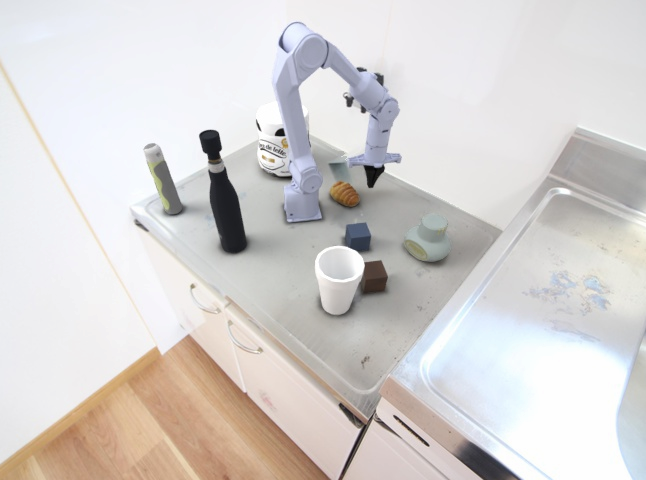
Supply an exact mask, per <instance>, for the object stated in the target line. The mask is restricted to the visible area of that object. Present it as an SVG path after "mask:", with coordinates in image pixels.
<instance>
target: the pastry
mask: <svg viewBox="0 0 646 480" xmlns="http://www.w3.org/2000/svg"><path fill="white" fill-rule="evenodd" d="M329 194H330V196H331V198H332V199H333V200H334V201H335V202H337V203H339V204H341V205H342V206H345V207H349V208H353V207H355V206H357V205H358V204H359V202H360V197H359V194H358V192H357V191H356V189H355V187H353V185H351V183H349V182H345V181H344V180H338V181H336V182H335V183H333V184H332V185H331V187H330V189H329Z"/></svg>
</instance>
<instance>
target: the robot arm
mask: <svg viewBox="0 0 646 480" xmlns="http://www.w3.org/2000/svg"><path fill="white" fill-rule="evenodd" d="M319 68H321V69H322V70H326V69H329V68H330V69H331V70H332V71H334V73H335V74H336V75H338V76H339V77H340V78H341V79H342V80H343V81H345V83H347V84H348V85H349V89H348V90H349V94H350V96H351V97H352V98H353V99H354V100H356V101H357V102H358V103H359V104H360V105H361V106H362V107H363V108H364V109H365V110H366V112H368V113H369V115H368V124H367V130H366V131H367V132H366V137H365V146H364V153H361V154H358V155H354V156H351V157H347V158H346V165H347V168H348V169H351V168H353V167H360V166H363V169H364V172H365V177H366V185H367V188H368V189H373V188H374V187H375V185H376V184H377V183H376V182H377V181H378V179H379V178H380V176H382V174H383V173H384V172H385V170H386V166H385V165H386V164H392V163H396V164H401V163H402V159H403V157H402V155H401V153H399V152H398V153H397V152H395V153H394V152H388V148H389V147H388V146H389V141H390V136H391V131H392V127H394V122H395V120H396V119H397V118H398V116H399V114H400V112H401V109H400V107H399V102H398V100H397V99H396V98H395V97H394V96H392V95H391V94H389V88H388V87H386V86H382V85H381V84H380V82H379V81H378V76H377V75H376V73H374V72H372V71H371V72H369V71H366V70H365V71H359V70H358V69H357V67H355V65H354V64H353V63H352V62H351V61H350V59H348V57H346V55H345V54H344V53H343V52H342V51H341V50H340V48H338V47H337V46H336V45H335V44H333V43H332V42H331V41H328V39H326V38H324V36H323V35H321V34H320V33H318V32H315V31H314V30H312V29H310V28H309V27H308V26H307V25H306V24H305V23H304V22H302V21H300V20H299V21H298V20H295V21H294V20H293V21H291V22H290V23H288V24H287V25H285V27H284V28H283V30H282V31H281V33H280V35H279V36H278V37H277V39H276V55H275V59H274V64H273V69H272V73H271V84H272V88H273V93H274V96H275V99H276V101H275V102H277V105H278V108H279V112H280V116H281V120H282V124H283V128H284V132H285V136H286V140H287V143H288V147H289V151H290V153H289V154H288V157H289V163H288V171H289V172H290V174H291V175H292V176H291V177H292V178H291V182H290V183H289V184H286V185H283V199H284V204H283V208H284V209H283V210H284V212H285V215H286V221H287V223H298V222H306V221H307V222H308V221H316V220H321V219H322V218H323V217H322V213H321V210H320V206H319V202H320V201H319V200H320V199H319V195H320V193H319V192H320V188H321V187H322V185H323V183H324V177H323V174H322V173H321V172H320V171H319V170H318V165H317V163H316V161H315V158H314V156H313V153H312V154H311V149H310V144H311V143H310V144H309V141H310V138H309V139H308V134H307V129H306V124H305V119H304V114H303V109H302V105H303V104H302V100H301V95H300V94H301V93H300V90H299V88H300V87H301V85H302V83H304V82H305V81H306V80H307V79H308V78H309V77H310V76H312V75H313V74H314V73H315V72H316V71H317V70H319Z"/></svg>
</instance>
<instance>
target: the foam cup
mask: <svg viewBox="0 0 646 480" xmlns="http://www.w3.org/2000/svg"><path fill="white" fill-rule="evenodd" d="M364 262H365V261H364V258H363V257H362V255H361V254H360V253H359V251H358V252H357V251H355V250H353V249H350V248H348V246H342V245H334V246H329V247H325V248H324V249H323V250H322V251H319V252H318V254H317V256H316V258H315V261H314V271H315V279H316V280H317V285H318V289H319V290H318V291H319V296H320V301H321V306H322V308H323V309H324V311H325V312H327V313H328V314H331V315H333V316H334V315H335V316H339V315H342V314H345V313H347V312H348V311H349V309H350V308H351V305H352V302H353V300H354V298H355V294H356V292H357V289H358V286H359V285H360V283H359V282H360V281H361V279H362V276H363V272H364V267H365V265H364Z"/></svg>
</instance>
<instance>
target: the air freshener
mask: <svg viewBox="0 0 646 480" xmlns="http://www.w3.org/2000/svg"><path fill="white" fill-rule="evenodd" d="M448 226H449V222H448V220H447V219H446V217H445V216H443V215H442V214H439V213H434V212H431V213H426V214H424V215H423V216H422V218H421V219H420V223H419V224H417V225H415V226H413V227H411V228H410V229H409V230H407V231H406V233H405V235H404V241H403V242H404V247H405V248H406V250H407V251H408V253H410V254H411V255H412V256H413V257H414V258H416V259H417V260H420V261H423V262H428V263H429V262H430V263H431V262H432V263H433V262H438V261H441V260H443V259H445V258H446V257H448V255H449V254H450V252H451V250H452V240H451V238H450V236H449V235H448V233H447V230H448Z"/></svg>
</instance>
